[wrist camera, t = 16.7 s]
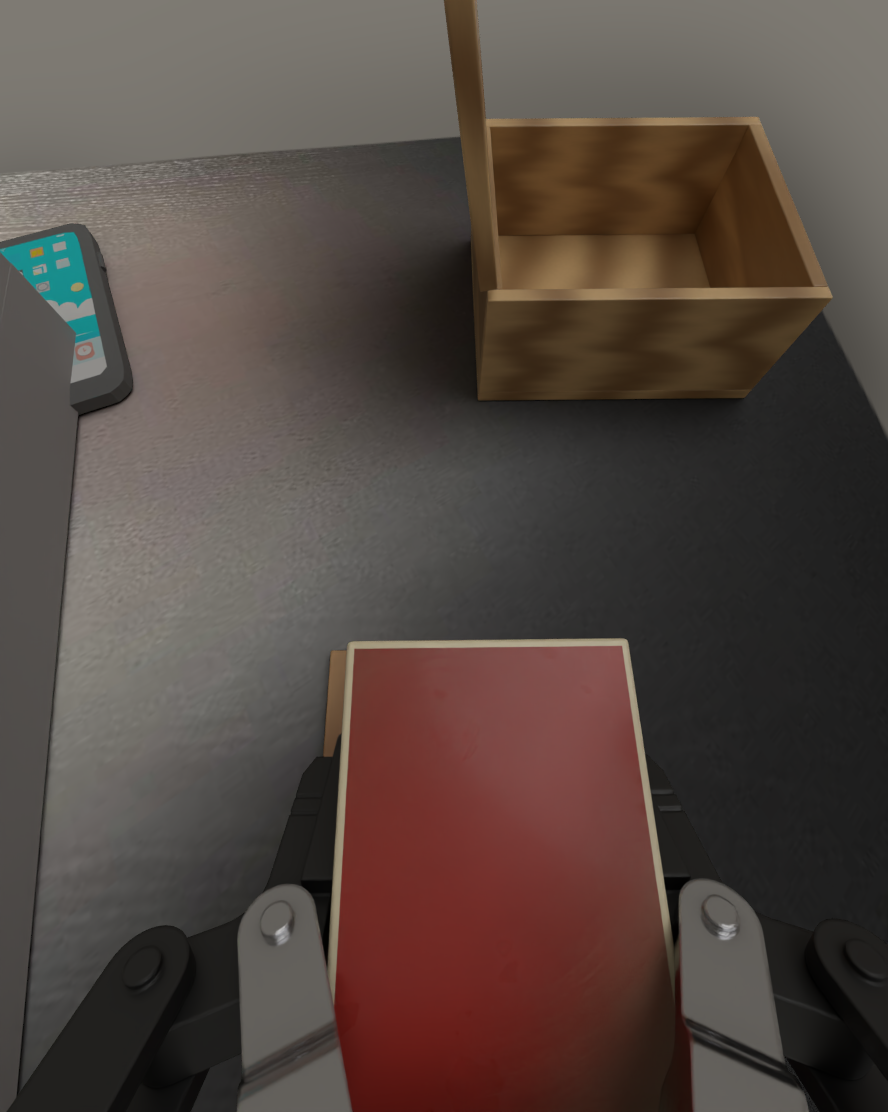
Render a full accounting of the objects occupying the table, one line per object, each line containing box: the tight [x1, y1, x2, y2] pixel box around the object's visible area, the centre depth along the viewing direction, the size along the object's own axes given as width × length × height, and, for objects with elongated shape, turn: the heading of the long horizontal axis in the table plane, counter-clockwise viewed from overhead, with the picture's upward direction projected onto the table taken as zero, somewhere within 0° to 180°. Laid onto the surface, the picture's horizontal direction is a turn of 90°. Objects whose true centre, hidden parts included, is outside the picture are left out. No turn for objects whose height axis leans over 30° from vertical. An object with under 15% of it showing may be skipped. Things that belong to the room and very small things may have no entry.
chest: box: [471, 117, 833, 400], centre depth 27 cm, size 15×13×7 cm
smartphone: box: [0, 223, 133, 415], centre depth 29 cm, size 9×1×15 cm
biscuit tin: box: [327, 638, 675, 1112], centre depth 13 cm, size 6×8×11 cm
